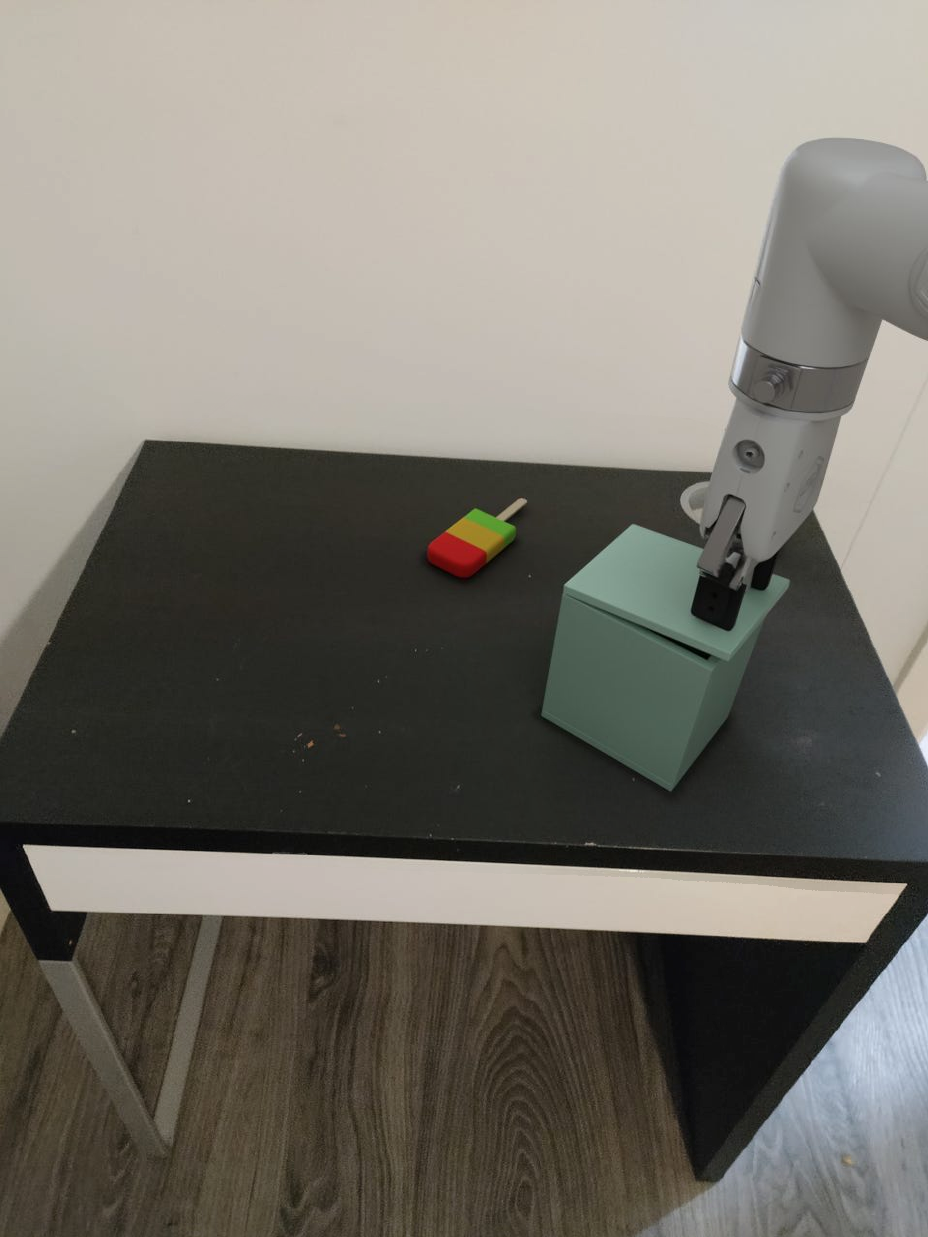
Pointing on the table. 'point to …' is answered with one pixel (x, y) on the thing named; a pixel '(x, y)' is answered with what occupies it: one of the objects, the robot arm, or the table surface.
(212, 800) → the table surface
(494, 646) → the table surface
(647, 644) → the pale green hollow box
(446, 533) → the popsicle
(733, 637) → the lid
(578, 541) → the table surface
